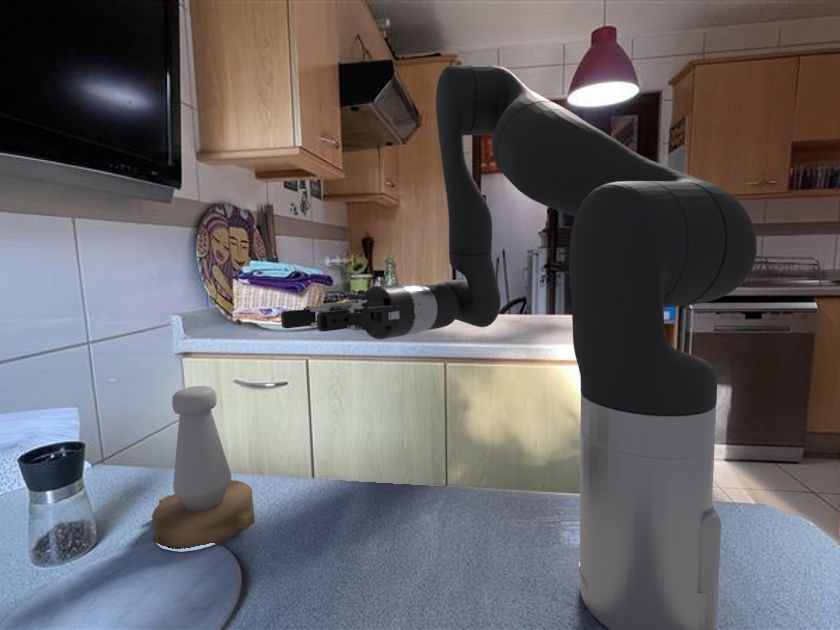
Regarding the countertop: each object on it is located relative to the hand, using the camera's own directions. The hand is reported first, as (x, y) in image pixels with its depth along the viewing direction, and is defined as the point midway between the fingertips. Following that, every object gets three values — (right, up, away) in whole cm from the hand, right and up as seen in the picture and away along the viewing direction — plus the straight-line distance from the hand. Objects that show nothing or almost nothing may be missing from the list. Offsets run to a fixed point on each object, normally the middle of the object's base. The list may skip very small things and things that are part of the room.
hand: (299, 321), depth 52 cm
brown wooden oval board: (-10, -23, -3) cm, 25 cm away
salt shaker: (-10, -20, -4) cm, 23 cm away
